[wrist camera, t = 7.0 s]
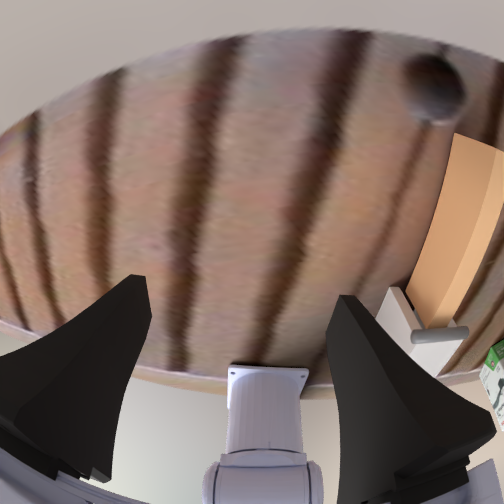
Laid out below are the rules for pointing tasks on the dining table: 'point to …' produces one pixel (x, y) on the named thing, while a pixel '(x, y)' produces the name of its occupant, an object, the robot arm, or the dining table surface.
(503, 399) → the ink box
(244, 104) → the dining table surface
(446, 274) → the tan rectangular bar
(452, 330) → the box
